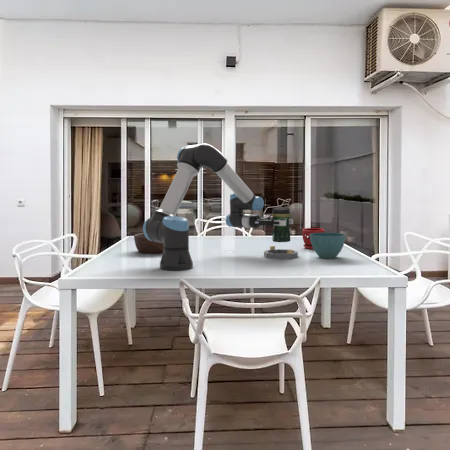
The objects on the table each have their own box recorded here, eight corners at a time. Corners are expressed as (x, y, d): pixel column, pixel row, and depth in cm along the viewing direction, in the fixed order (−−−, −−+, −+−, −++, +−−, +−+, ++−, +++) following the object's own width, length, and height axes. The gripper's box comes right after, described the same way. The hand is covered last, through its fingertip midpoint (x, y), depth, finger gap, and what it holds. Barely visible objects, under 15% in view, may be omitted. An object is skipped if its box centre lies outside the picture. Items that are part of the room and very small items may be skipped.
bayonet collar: (295, 259, 204) (295, 250, 204) (261, 258, 210) (261, 249, 209) (299, 254, 221) (299, 246, 221) (268, 253, 226) (268, 245, 226)
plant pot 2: (305, 258, 207) (305, 235, 206) (314, 253, 223) (315, 231, 222) (341, 261, 199) (341, 236, 198) (348, 255, 215) (348, 233, 214)
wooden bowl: (130, 250, 243) (129, 233, 242) (170, 247, 253) (169, 231, 252) (139, 256, 220) (139, 237, 219) (183, 252, 230) (182, 235, 230)
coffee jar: (289, 240, 219) (289, 206, 217) (291, 242, 211) (291, 207, 209) (271, 240, 219) (271, 206, 218) (272, 242, 211) (272, 207, 210)
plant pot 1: (297, 247, 247) (298, 228, 246) (314, 246, 253) (314, 227, 252) (311, 250, 236) (312, 230, 235) (328, 248, 242) (329, 229, 241)
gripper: (260, 226, 233) (297, 227, 221) (242, 229, 215) (280, 231, 203) (260, 213, 232) (297, 214, 220) (242, 215, 214) (280, 216, 202)
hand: (289, 222), depth 212 cm, fingers closed on coffee jar, 9 cm apart
